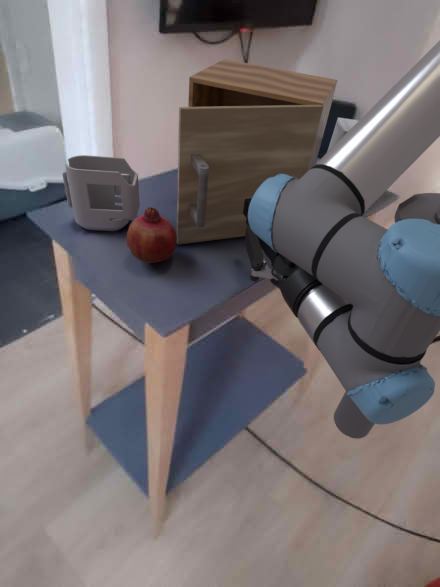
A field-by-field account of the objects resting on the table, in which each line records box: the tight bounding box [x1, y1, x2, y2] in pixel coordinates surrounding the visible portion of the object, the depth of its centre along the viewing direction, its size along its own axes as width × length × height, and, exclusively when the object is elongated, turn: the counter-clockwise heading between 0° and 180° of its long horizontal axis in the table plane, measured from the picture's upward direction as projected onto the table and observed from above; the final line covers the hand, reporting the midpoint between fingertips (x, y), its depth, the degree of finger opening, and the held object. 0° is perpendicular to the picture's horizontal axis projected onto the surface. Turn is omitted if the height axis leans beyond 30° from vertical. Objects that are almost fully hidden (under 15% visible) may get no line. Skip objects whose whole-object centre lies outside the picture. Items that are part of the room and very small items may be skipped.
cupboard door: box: [176, 105, 323, 245], centre depth 65 cm, size 6×24×23 cm, turn 110°
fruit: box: [125, 206, 177, 264], centre depth 64 cm, size 8×8×10 cm
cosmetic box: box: [326, 117, 360, 153], centre depth 89 cm, size 8×6×15 cm
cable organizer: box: [62, 154, 141, 232], centre depth 70 cm, size 7×12×12 cm, turn 93°
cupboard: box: [187, 58, 338, 172], centre depth 80 cm, size 18×24×24 cm
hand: (248, 205), depth 64 cm, fingers closed
